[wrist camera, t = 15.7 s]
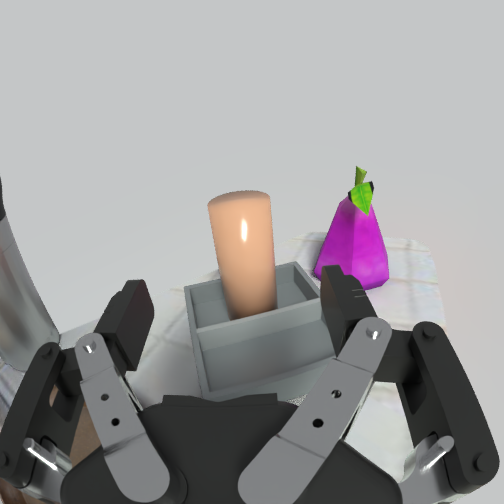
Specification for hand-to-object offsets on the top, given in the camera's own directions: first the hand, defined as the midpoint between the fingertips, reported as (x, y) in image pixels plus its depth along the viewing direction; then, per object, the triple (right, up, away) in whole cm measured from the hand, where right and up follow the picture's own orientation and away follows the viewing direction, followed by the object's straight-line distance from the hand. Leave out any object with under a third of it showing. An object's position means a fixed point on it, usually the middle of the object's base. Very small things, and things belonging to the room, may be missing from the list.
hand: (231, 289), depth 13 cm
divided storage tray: (+2, -8, +17) cm, 19 cm away
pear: (+15, -2, +26) cm, 30 cm away
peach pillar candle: (+1, -5, +20) cm, 20 cm away
